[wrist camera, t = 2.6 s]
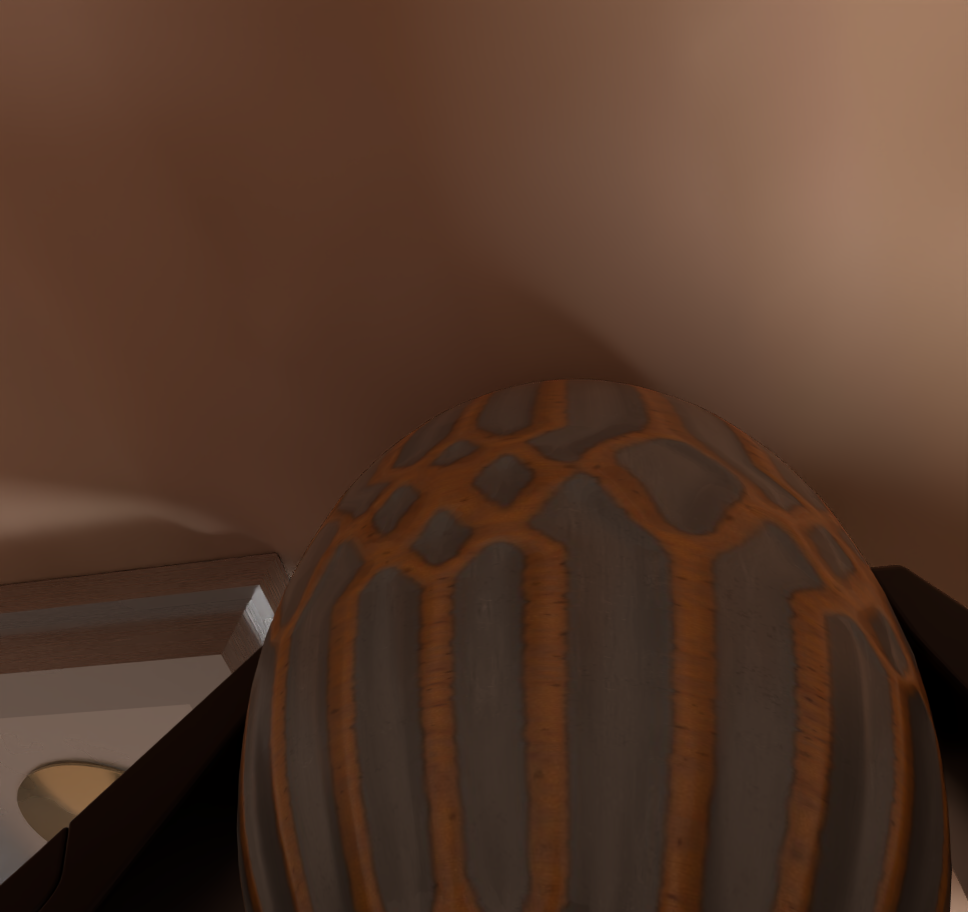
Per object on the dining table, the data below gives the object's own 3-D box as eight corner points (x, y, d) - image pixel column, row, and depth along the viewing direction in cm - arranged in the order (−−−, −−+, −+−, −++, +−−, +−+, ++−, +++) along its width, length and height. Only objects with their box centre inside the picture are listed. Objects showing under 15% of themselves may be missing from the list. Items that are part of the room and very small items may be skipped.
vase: (265, 416, 11) (-406, 1319, 3) (724, 212, 9) (1714, 1501, 1) (476, 707, 14) (368, 1525, 6) (855, 610, 12) (1366, 1684, 4)
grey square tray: (276, 553, 12) (229, 641, 10) (449, 921, 18) (437, 1015, 16) (-266, 617, 15) (-376, 697, 13) (44, 924, 20) (-3, 1006, 19)
